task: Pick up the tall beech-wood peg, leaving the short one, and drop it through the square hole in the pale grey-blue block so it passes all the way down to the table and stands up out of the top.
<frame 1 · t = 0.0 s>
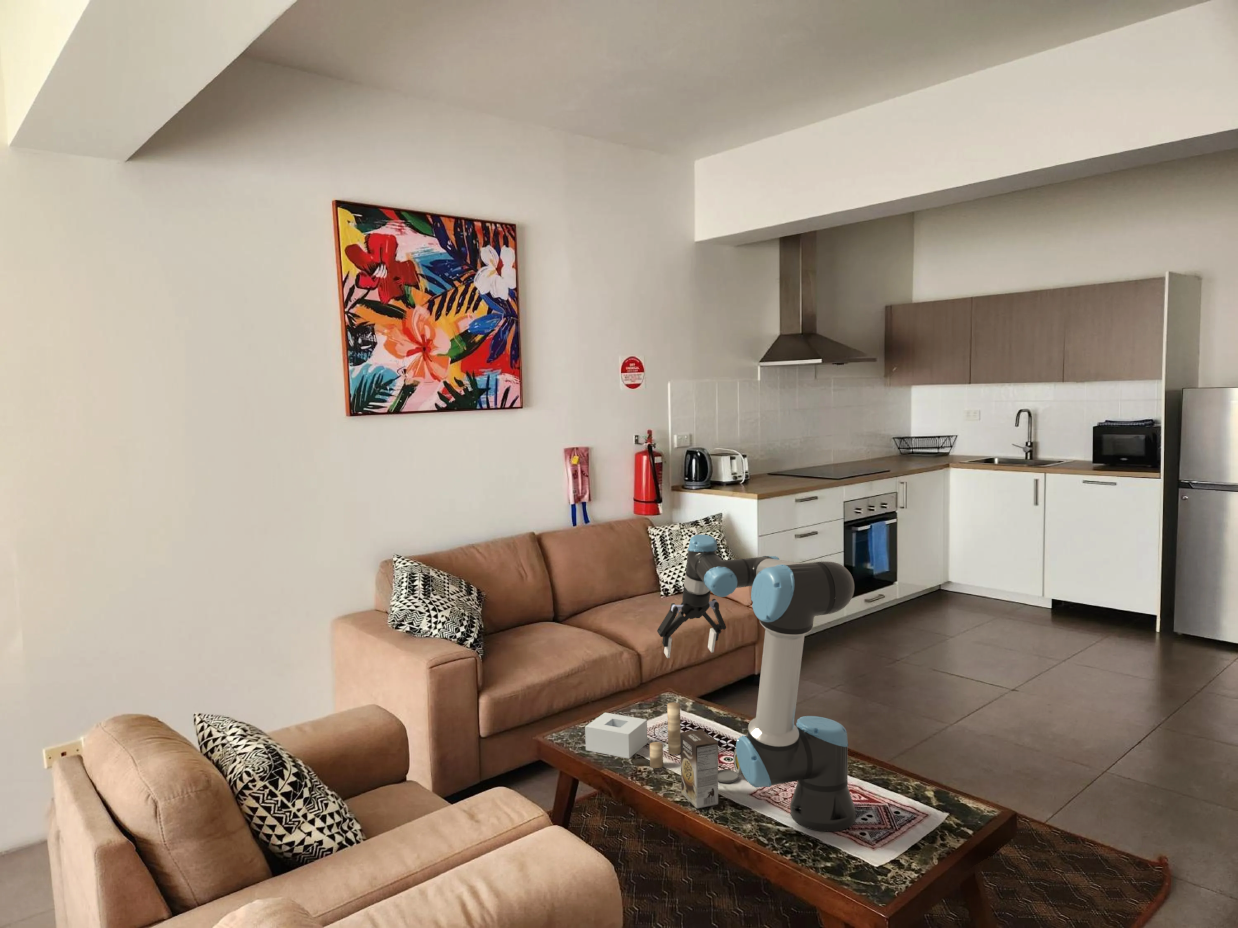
hand: (688, 652, 242), 28 cm above the table, tool tilted 20°, fingers open, 13 cm apart
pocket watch: (730, 778, 223), on the table
hole block: (616, 746, 246), on the table
coffee box: (699, 799, 212), on the table
tall peg: (674, 752, 241), on the table
short peg: (656, 765, 232), on the table
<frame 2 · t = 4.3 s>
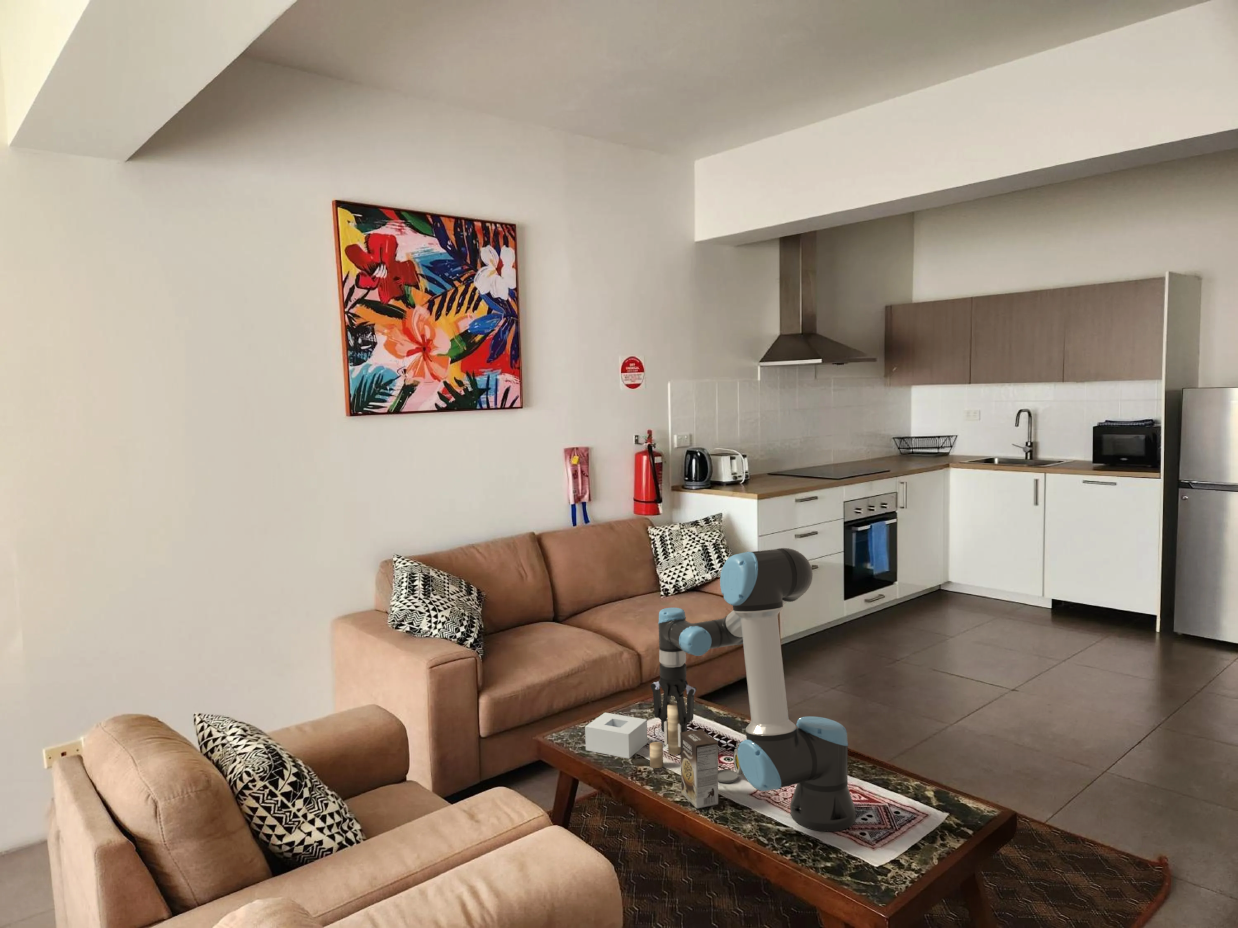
hand: (674, 743, 240), 3 cm above the table, tool pointing down, fingers closed on tall peg, 3 cm apart
tall peg: (674, 752, 240), on the table, touching gripper
everything else where it was.
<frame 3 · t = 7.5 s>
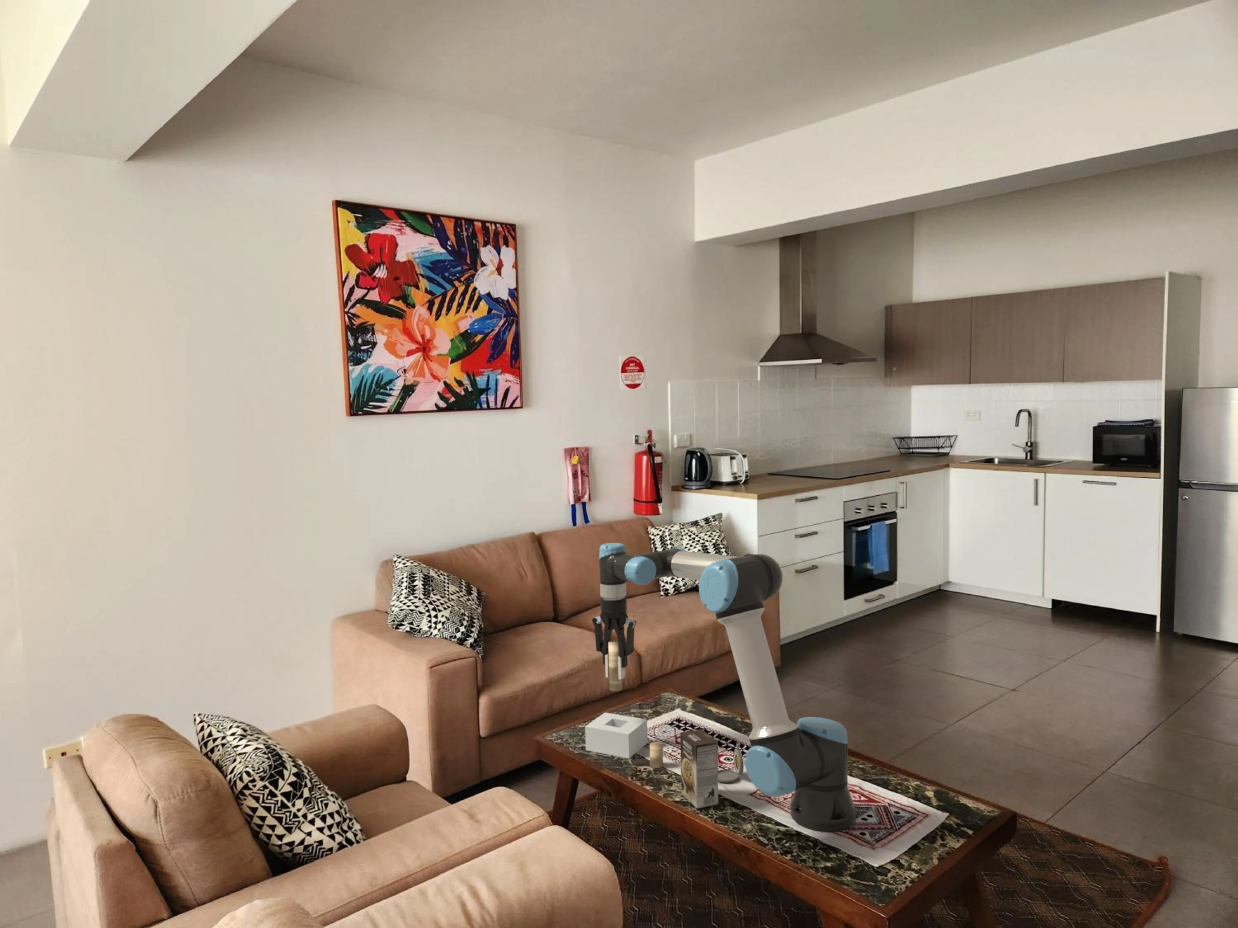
hand: (615, 676, 244), 21 cm above the table, tool pointing down, fingers closed on tall peg, 3 cm apart
tall peg: (615, 688, 245), point 17 cm above the table, touching gripper
everything else where it was.
when the fingers open (9 cm above the table, at t = 11.1 s): tall peg drops 5 cm, resting in hole block.
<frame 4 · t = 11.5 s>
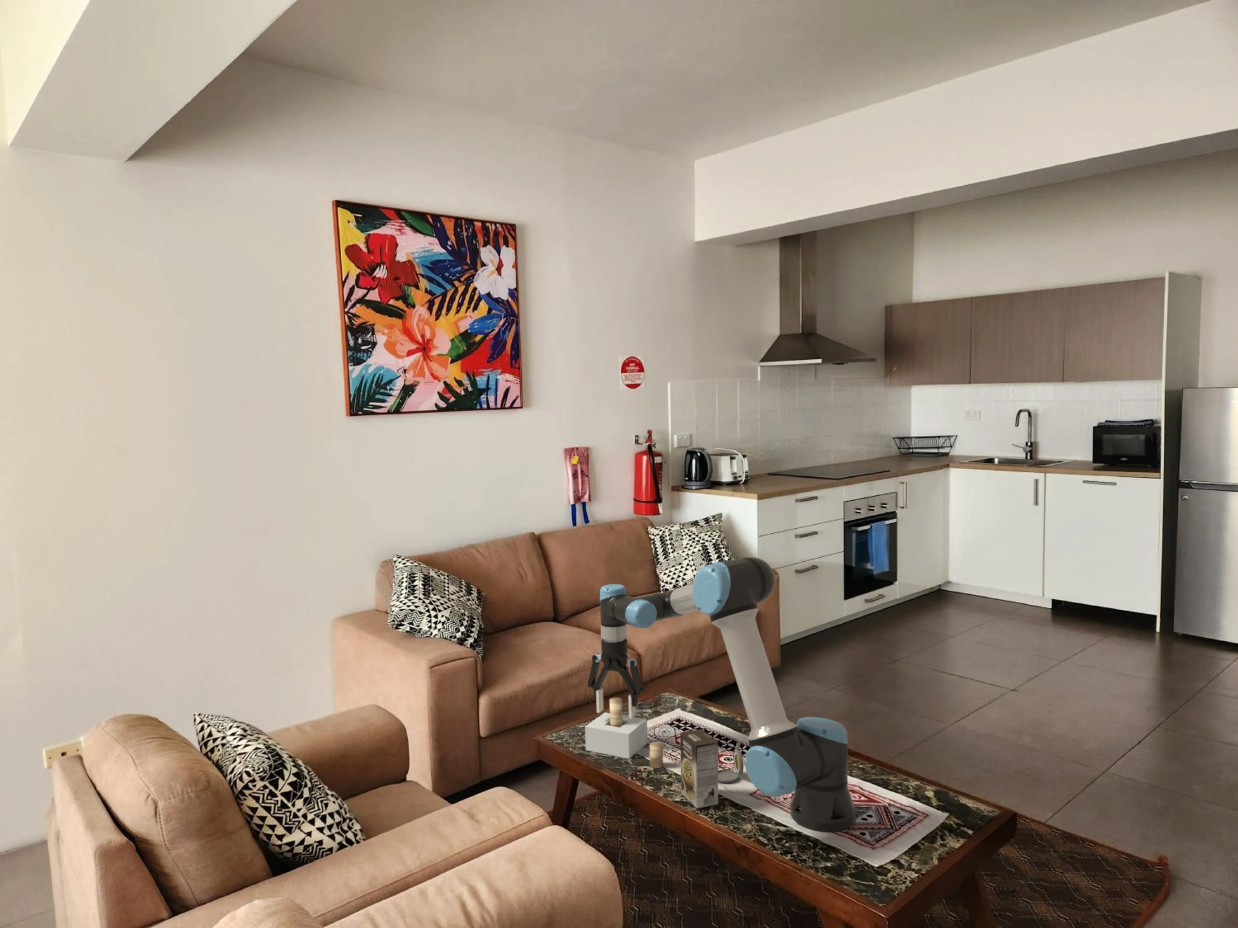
hand: (616, 713, 245), 10 cm above the table, tool pointing down, fingers open, 10 cm apart
tall peg: (616, 746, 246), resting in hole block
everything else where it was.
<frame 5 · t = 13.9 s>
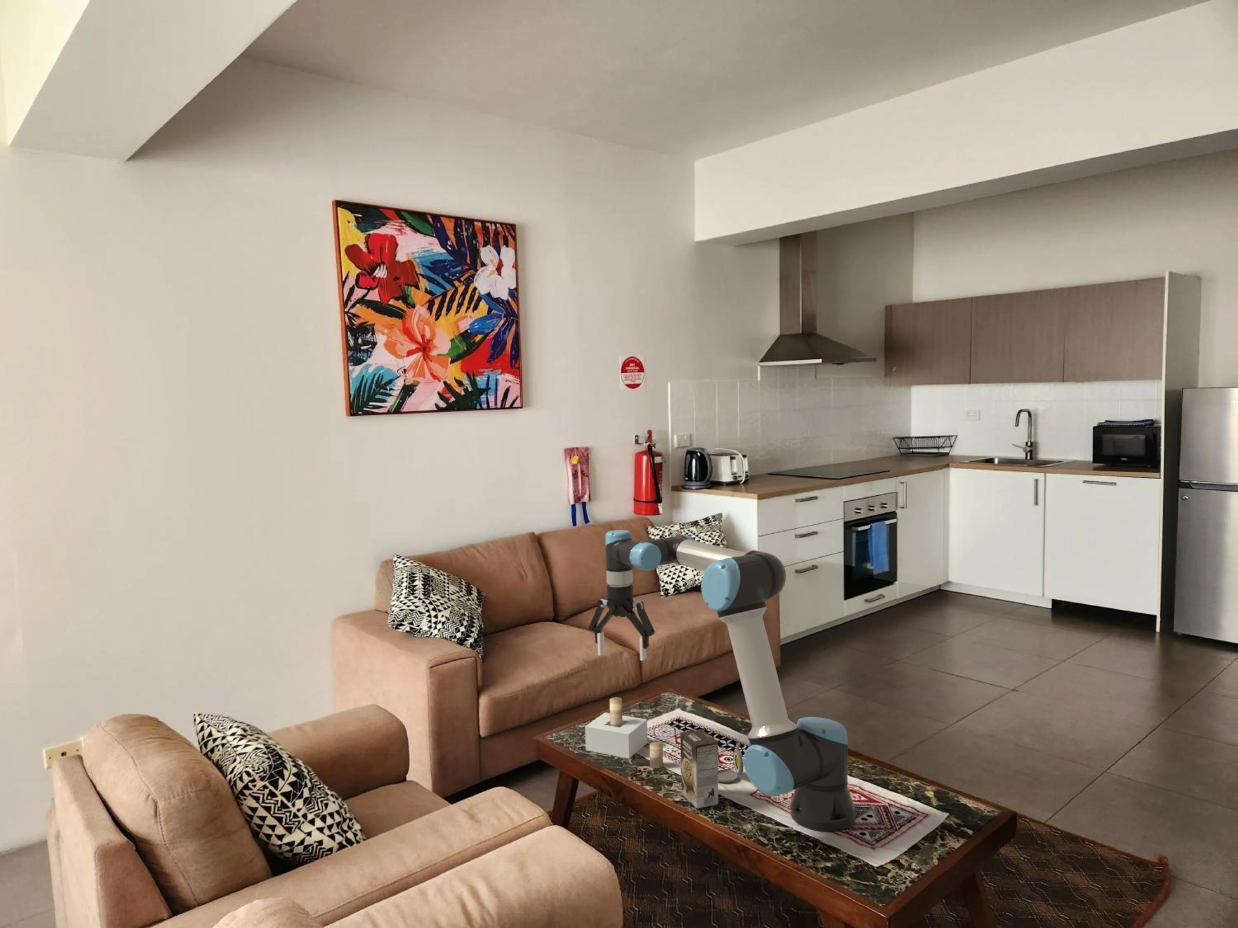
hand: (622, 656, 244), 26 cm above the table, tool pointing down, fingers open, 13 cm apart
nothing on the table moved.
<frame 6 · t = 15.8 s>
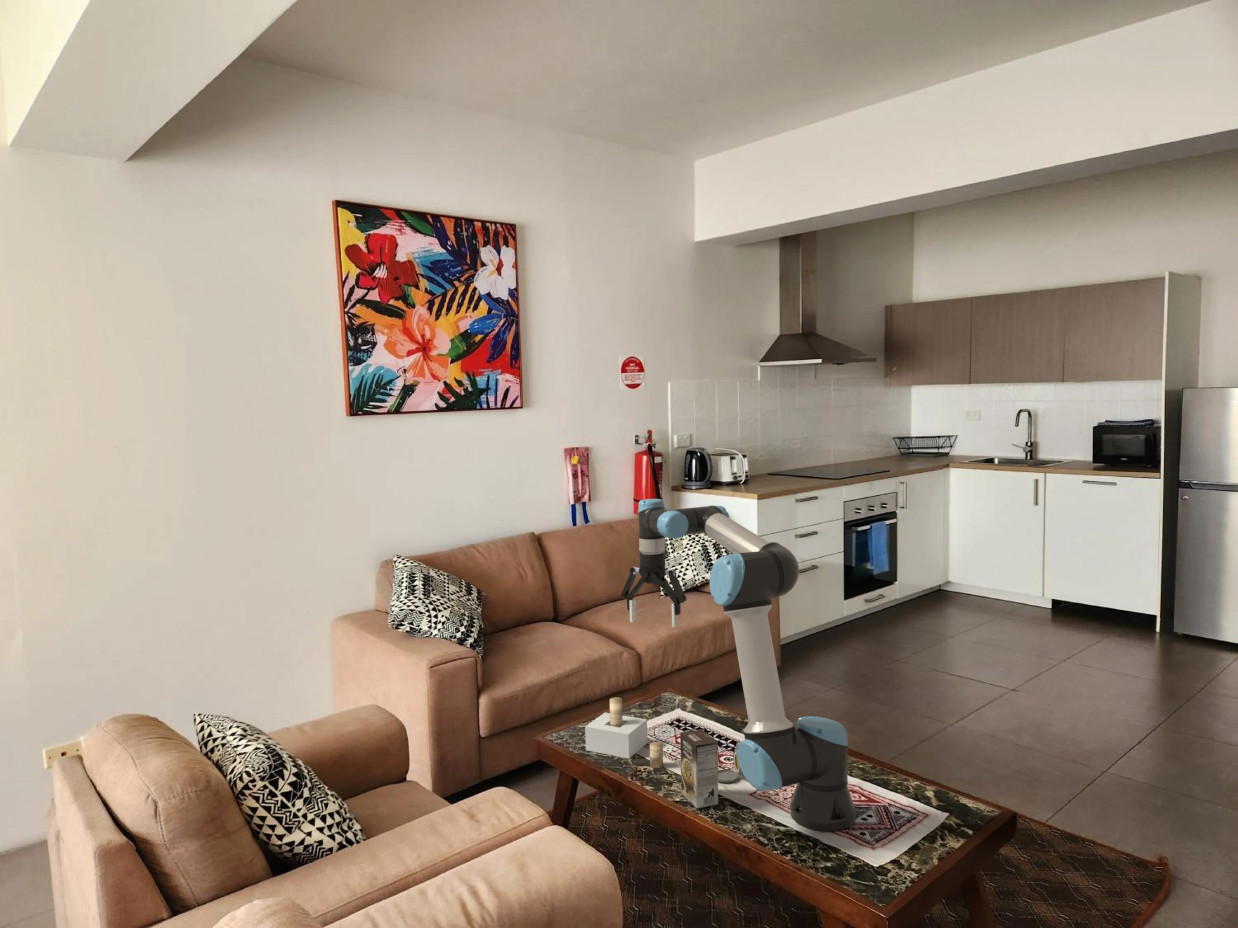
hand: (653, 623, 248), 35 cm above the table, tool pointing down, fingers open, 13 cm apart
nothing on the table moved.
at the end: tall peg 0.0 cm off-centre on the hole block, point 0.0 cm above the hole block's base; tall peg tilted 0°; short peg moved 0.0 cm from its start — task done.
